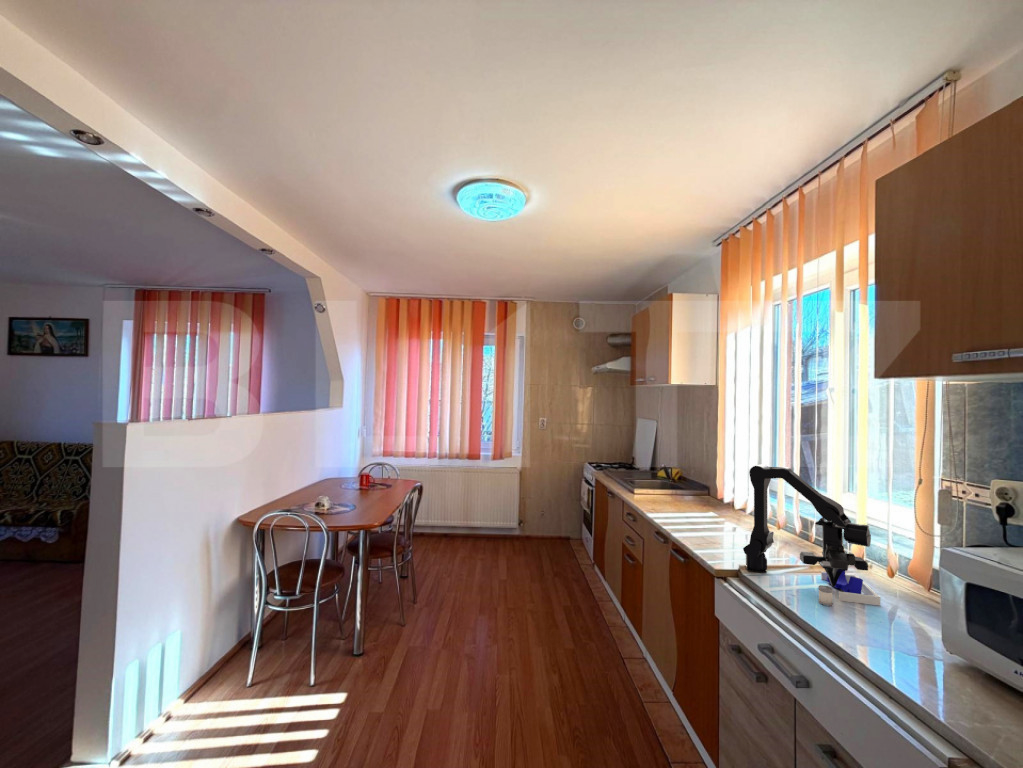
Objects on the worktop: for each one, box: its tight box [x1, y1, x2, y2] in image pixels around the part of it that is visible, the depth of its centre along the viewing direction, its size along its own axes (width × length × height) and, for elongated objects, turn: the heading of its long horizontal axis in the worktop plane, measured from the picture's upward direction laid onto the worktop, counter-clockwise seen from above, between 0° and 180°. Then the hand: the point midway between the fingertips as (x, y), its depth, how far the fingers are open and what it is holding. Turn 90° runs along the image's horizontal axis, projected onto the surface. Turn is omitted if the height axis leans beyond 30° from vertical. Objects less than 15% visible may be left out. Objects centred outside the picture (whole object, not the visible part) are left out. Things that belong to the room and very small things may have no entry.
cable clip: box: [826, 571, 864, 594], centre depth 160 cm, size 12×4×6 cm, turn 171°
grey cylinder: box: [817, 585, 834, 607], centre depth 149 cm, size 4×4×5 cm
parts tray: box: [820, 570, 881, 606], centre depth 159 cm, size 11×20×3 cm, turn 161°
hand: (833, 586), depth 160 cm, fingers closed
